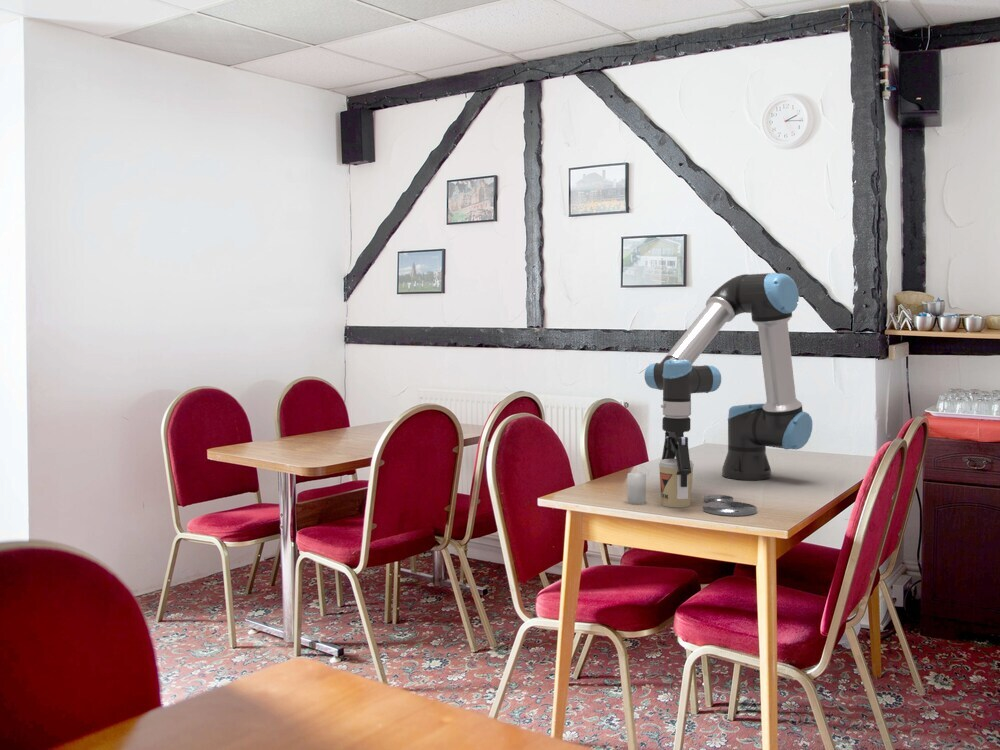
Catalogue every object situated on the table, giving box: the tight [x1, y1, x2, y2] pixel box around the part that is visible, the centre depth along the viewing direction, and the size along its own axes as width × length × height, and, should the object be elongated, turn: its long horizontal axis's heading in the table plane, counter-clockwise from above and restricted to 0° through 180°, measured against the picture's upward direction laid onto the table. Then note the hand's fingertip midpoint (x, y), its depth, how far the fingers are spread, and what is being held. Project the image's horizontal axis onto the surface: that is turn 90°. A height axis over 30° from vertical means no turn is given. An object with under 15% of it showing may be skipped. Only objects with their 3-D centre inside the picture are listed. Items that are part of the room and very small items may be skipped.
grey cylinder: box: [627, 471, 647, 505], centre depth 256 cm, size 5×5×8 cm
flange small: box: [703, 494, 734, 503], centre depth 257 cm, size 8×8×1 cm
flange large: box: [702, 501, 758, 517], centre depth 245 cm, size 14×14×1 cm
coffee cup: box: [658, 458, 694, 509], centre depth 252 cm, size 9×9×12 cm
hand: (675, 493), depth 252 cm, fingers open, 13 cm apart
